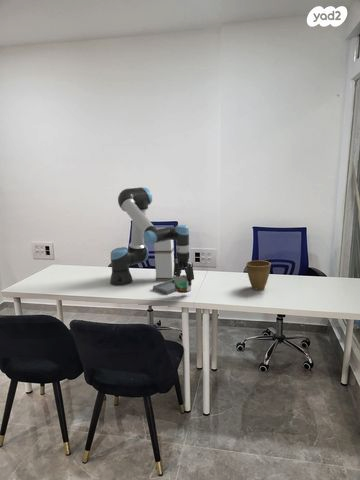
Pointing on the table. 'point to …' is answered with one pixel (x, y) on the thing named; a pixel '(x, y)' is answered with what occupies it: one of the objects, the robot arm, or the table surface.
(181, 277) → the food container
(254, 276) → the plant pot
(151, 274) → the table surface
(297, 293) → the table surface
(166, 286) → the grey shallow tray
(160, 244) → the white tall box
